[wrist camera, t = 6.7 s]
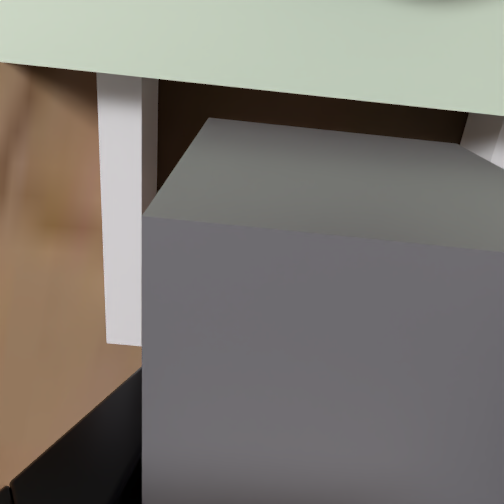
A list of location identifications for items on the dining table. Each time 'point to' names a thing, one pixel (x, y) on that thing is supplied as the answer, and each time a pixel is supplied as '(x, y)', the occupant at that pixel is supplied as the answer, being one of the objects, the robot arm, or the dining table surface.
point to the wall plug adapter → (251, 80)
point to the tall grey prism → (323, 321)
